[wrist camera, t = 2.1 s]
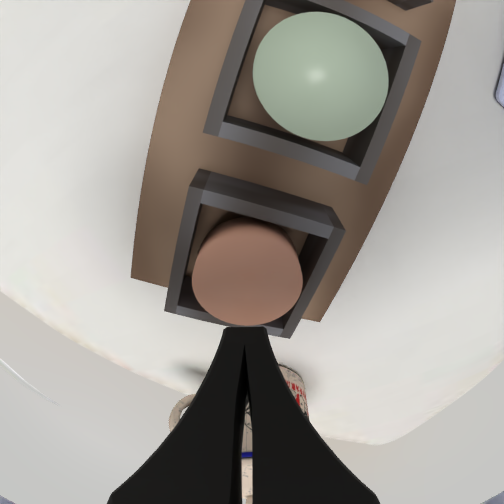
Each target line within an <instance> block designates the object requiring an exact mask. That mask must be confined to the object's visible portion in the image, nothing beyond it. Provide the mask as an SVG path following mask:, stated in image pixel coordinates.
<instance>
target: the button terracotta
mask: <svg viewBox="0 0 504 504" xmlns="http://www.w3.org/2000/svg"><path fill="white" fill-rule="evenodd" d="M302 285H303V277H302V272H301V268H300V264H299V260H298V256H297V252H296V248H295V246H294V243H293V241H292V240H291V238H290V237H289V236H288V234H287V233H286V232H285V231H284V230H282V229H281V228H280V227H278V226H277V225H275V224H273V223H271V222H268V221H264V220H261V219H257V218H251V217H242V218H235V219H232V220H228V221H226V222H223V223H221V224H220V225H218V226H216V227H215V228H214V229H212V230H211V231H210V232H209V233H208V234H207V235H206V237H205V238H204V239H203V241H202V243H201V245H200V248H199V251H198V254H197V258H196V262H195V266H194V270H193V274H192V287H193V292H194V294H195V297H196V299H197V301H198V302H199V303H200V305H201V306H202V307H203V308H204V309H205V310H206V311H207V312H208V313H209V314H211V315H212V316H214V317H216V318H218V319H220V320H222V321H224V322H227V323H231V324H235V325H244V326H250V325H260V324H264V323H268V322H271V321H273V320H275V319H277V318H279V317H281V316H283V315H284V314H285V313H287V312H288V311H289V310H290V309H291V308H292V307H293V306H294V304H295V303H296V302H297V300H298V298H299V296H300V294H301V290H302Z"/></svg>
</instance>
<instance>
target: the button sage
mask: <svg viewBox="0 0 504 504" xmlns="http://www.w3.org/2000/svg"><path fill="white" fill-rule="evenodd" d="M253 83H254V88H255V91H256V94H257V96H258V98H259V100H260V102H261V104H262V105H263V107H264V108H265V110H266V111H267V112H268V113H269V115H270V116H271V117H272V118H273V119H274V120H275V121H276V122H277V123H278V124H279V125H281V126H282V127H284V128H285V129H286V130H288V131H290V132H292V133H293V134H296V135H298V136H301V137H303V138H307V139H311V140H317V141H335V140H340V139H345V138H348V137H350V136H353V135H355V134H357V133H359V132H360V131H362V130H363V129H365V128H366V127H367V126H368V125H370V124H371V123H372V122H373V121H374V119H375V118H376V117H377V116H378V114H379V113H380V111H381V109H382V107H383V105H384V103H385V100H386V96H387V92H388V70H387V66H386V62H385V59H384V57H383V54H382V52H381V50H380V48H379V47H378V45H377V44H376V42H375V41H374V39H373V38H372V37H371V36H370V35H369V34H368V33H367V32H366V31H365V30H364V29H362V28H361V27H360V26H358V25H357V24H355V23H354V22H352V21H350V20H348V19H346V18H344V17H341V16H339V15H335V14H331V13H326V12H307V13H300V14H297V15H294V16H291V17H289V18H287V19H284V20H283V21H281V22H280V23H278V24H277V25H275V26H274V27H273V28H272V29H271V30H270V31H269V32H268V33H267V34H266V35H265V37H264V38H263V40H262V41H261V43H260V45H259V47H258V49H257V52H256V55H255V59H254V63H253Z"/></svg>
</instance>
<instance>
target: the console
mask: <svg viewBox="0 0 504 504" xmlns="http://www.w3.org/2000/svg"><path fill="white" fill-rule="evenodd" d="M455 2H456V0H191V1H190V3H189V6H188V9H187V12H186V14H185V17H184V20H183V23H182V26H181V29H180V32H179V35H178V38H177V41H176V44H175V47H174V50H173V54H172V57H171V60H170V64H169V67H168V71H167V74H166V78H165V82H164V85H163V89H162V93H161V97H160V101H159V105H158V109H157V113H156V117H155V122H154V126H153V131H152V135H151V140H150V145H149V150H148V155H147V160H146V166H145V171H144V177H143V183H142V189H141V195H140V202H139V208H138V216H137V223H136V231H135V239H134V249H133V258H132V269H131V278H134V279H138V280H141V281H145V282H149V283H152V284H156V285H160V286H163V287H167V288H168V291H167V297H166V303H165V309H164V311H166V312H170V313H174V314H178V315H182V316H186V317H190V318H194V319H198V320H202V321H207V322H211V323H215V324H220V325H224V326H229V327H261V326H264V327H265V328H266V329H267V334H268V335H273V336H278V337H283V338H289V339H290V338H291V336H292V334H293V332H294V330H295V329H296V327H297V325H298V323H299V321H300V320H301V318H302V319H307V320H312V321H317V322H320V321H321V319H322V317H323V316H324V314H325V312H326V311H327V309H328V307H329V306H330V304H331V302H332V300H333V299H334V297H335V295H336V293H337V292H338V290H339V288H340V286H341V284H342V283H343V281H344V279H345V277H346V275H347V274H348V272H349V270H350V268H351V266H352V264H353V262H354V261H355V259H356V257H357V255H358V253H359V251H360V249H361V247H362V245H363V243H364V241H365V239H366V237H367V235H368V233H369V231H370V229H371V227H372V225H373V223H374V221H375V219H376V217H377V215H378V213H379V211H380V209H381V207H382V205H383V203H384V201H385V198H386V196H387V194H388V192H389V190H390V188H391V185H392V183H393V181H394V179H395V176H396V174H397V172H398V170H399V167H400V165H401V163H402V160H403V158H404V156H405V153H406V151H407V148H408V146H409V144H410V141H411V139H412V136H413V134H414V131H415V129H416V126H417V123H418V121H419V118H420V116H421V113H422V110H423V108H424V105H425V102H426V99H427V97H428V94H429V91H430V88H431V85H432V82H433V79H434V76H435V73H436V70H437V67H438V64H439V61H440V57H441V54H442V51H443V48H444V44H445V41H446V37H447V34H448V30H449V26H450V23H451V19H452V15H453V11H454V7H455ZM307 12H326V13H331V14H335V15H339V16H341V17H344V18H346V19H348V20H350V21H352V22H354V23H355V24H357V25H358V26H360V27H361V28H362V29H364V30H365V31H366V32H367V33H368V34H369V35H370V36H371V37H372V38H373V39H374V41H375V42H376V44H377V45H378V47H379V48H380V50H381V52H382V54H383V57H384V59H385V62H386V66H387V70H388V92H387V96H386V100H385V103H384V105H383V107H382V109H381V111H380V113H379V114H378V116H377V117H376V118H375V119H374V121H373V122H372V123H371V124H370V125H368V126H367V127H366V128H365V129H363V130H362V131H360V132H359V133H357V134H355V135H353V136H350V137H348V138H345V139H340V140H335V141H317V140H311V139H307V138H303V137H301V136H298V135H296V134H293V133H292V132H290V131H288V130H286V129H285V128H284V127H282V126H281V125H279V124H278V123H277V122H276V121H275V120H274V119H273V118H272V117H271V116H270V115H269V113H268V112H267V111H266V110H265V108H264V107H263V105H262V104H261V102H260V100H259V98H258V96H257V94H256V91H255V88H254V83H253V63H254V59H255V55H256V52H257V49H258V47H259V45H260V43H261V41H262V40H263V38H264V37H265V35H266V34H267V33H268V32H269V31H270V30H271V29H272V28H273V27H274V26H275V25H277V24H278V23H280V22H281V21H283V20H284V19H287V18H289V17H291V16H294V15H297V14H300V13H307ZM242 217H251V218H257V219H261V220H264V221H268V222H271V223H273V224H275V225H277V226H278V227H280V228H281V229H282V230H284V231H285V232H286V233H287V234H288V236H289V237H290V238H291V240H292V241H293V243H294V246H295V248H296V252H297V256H298V260H299V264H300V268H301V272H302V277H303V285H302V290H301V294H300V296H299V298H298V300H297V302H296V303H295V304H294V306H293V307H292V308H291V309H290V310H289V311H288V312H287V313H285V314H284V315H283V316H281V317H279V318H277V319H275V320H273V321H271V322H268V323H264V324H260V325H250V326H244V325H235V324H231V323H227V322H224V321H222V320H220V319H218V318H216V317H214V316H212V315H211V314H209V313H208V312H207V311H206V310H205V309H204V308H203V307H202V306H201V305H200V303H199V302H198V301H197V299H196V297H195V294H194V292H193V287H192V274H193V270H194V266H195V262H196V258H197V254H198V251H199V248H200V245H201V243H202V241H203V239H204V238H205V237H206V235H207V234H208V233H209V232H210V231H211V230H212V229H214V228H215V227H216V226H218V225H220V224H221V223H223V222H226V221H228V220H232V219H235V218H242Z"/></svg>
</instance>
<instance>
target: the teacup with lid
mask: <svg viewBox="0 0 504 504" xmlns="http://www.w3.org/2000/svg"><path fill="white" fill-rule="evenodd" d="M279 368H280V370H281V372H282V374H283V376H284V378H285V381H286V383H287V384H288V386H289V388H290V390H291V392H292V394H293V396H294V397H295V399H296V401H297V403H298V404H299V406H300V408H301V409H302V411H303V412H304V414H305V415H306V417H307V418H308V420H309V415H308V408H307V401H306V394H305V387H304V383H303V381H302V379H301V378H300V377H299V376H298V375H297V374H296V373H294V372H293V371H291V370H289V369H287V368H285V367H281V366H279ZM195 395H196V394H192V395H188V396H186V397H184V398H183V399H181V400H180V401H179V402H178V403H177V404H176V405H175V407H174V408H173V410H172V412H171V414H170V417H169V428H170V432H171V431H172V430H173V429H174V427H175V426H176V425H177V423H178V422H179V420H180V415H181V412H182V410H183V409H184V408H186V407H188V406H189V405H190V403H191V402H192V400H193V398H194V397H195ZM242 498H245V499H246V504H252V427H251V418H250V409H249V400H248V391H247V401H246V411H245V422H244V432H243V442H242Z"/></svg>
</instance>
